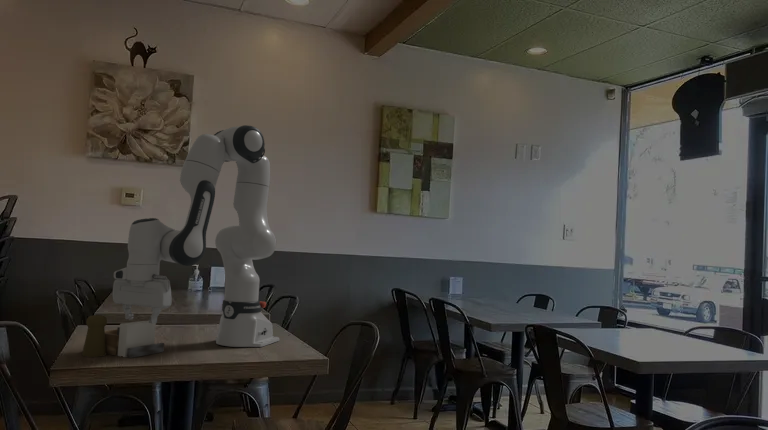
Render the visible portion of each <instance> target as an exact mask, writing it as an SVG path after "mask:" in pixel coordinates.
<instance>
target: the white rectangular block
mask: <svg viewBox="0 0 768 430" xmlns="http://www.w3.org/2000/svg"><path fill="white" fill-rule="evenodd" d="M156 325H157V323H154V324H152V323H149V319H148V320H142V321H141V320H140V321H139V320H138V321H132V322H131V321H130V322H124V323H123V322H122V323H120V324H119V327H120V331H119V344H118V355H117V357H121V356H123V358H127V350H128V348H133V347H139V346H145V345H151V344H155V337H156Z"/></svg>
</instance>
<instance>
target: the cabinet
mask: <svg viewBox="0 0 768 430" xmlns="http://www.w3.org/2000/svg"><path fill="white" fill-rule="evenodd" d="M119 331H120V326H119V327H118V326H117V328H116V329H110V330H109V329H108V330H105V346H106V355H113V356H118V344H119ZM164 349H165V343H163V342H158V343H154V344H151V345H145V346H139V347H133V348H128V350H127V357H126V358H128V359H132V358H138V357H143V356H147V355H153V354H158V353H159V354H160V353H164Z"/></svg>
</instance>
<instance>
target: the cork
mask: <svg viewBox="0 0 768 430" xmlns="http://www.w3.org/2000/svg"><path fill="white" fill-rule="evenodd" d="M85 323H86V326H87V331H86V335H85V340H84V344H83V350H82V354H81V355H82V357H85V356H88V357H87V358H98V357H103V356H106V355H107V354H106V346H105V331H106V329H105V327H106V326H107V323H108V319H107V317H106V316H105V315H101V314H94V315H90V316H88V317H87V318H86V322H85Z"/></svg>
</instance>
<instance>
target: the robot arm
mask: <svg viewBox="0 0 768 430" xmlns="http://www.w3.org/2000/svg"><path fill="white" fill-rule="evenodd" d="M265 145H266V143H265V138H264V135H263V133H262V131H261V130H260V129H259V128H257V127H255V126H253V125H248V124H247V125H239V126H238V125H237V126H232V127H229V128H226V129H222V130H219V131H217V132H215V134H214V133H213V134H211V133H205V134H201V135H199V136H197V138H196V139H195V141H194V142H193V143H192V146H191V147H190V149H189V151H188V153H187V155H186V158H185V160H184V163H183V165H182V168H181V171H180V178H179V181H180V185H181V186H182V188H183V189H184V190H185V192H187V193H188V195H189V196H190V205H189V208H188V213H187V216H186V221H185V224H184V226H183V228H182V229H181V230H176V229H175V228H172V227H170V226H167V225H166V224H165V223H163V222H161V220H159V219H158V218H156V217H149V218H142V219H137V220H134V221H133V222H132V223H131V225H130V227H129V232H128V240H127V250H128V257H127V258H128V259H127V262H126V266H125V267H124V268H121V269H117V270H115V271H114V272H113V278H114V281H113V285H112V301H113V302H114V304H117V305H122V310H123V313H124V314H125V315H124V319H125V321H134V319H135V317H134V315H135V313H132V312H133V311H132V309H131V308H133V306H137V307H144V308H151V312H152V314H151V315H150V316H149V317H148V320H149V323H152V324H154V323H156V324H157V323H158V317H159V315H160V313H161V312H162V311H161V310H162V309H168V308H170V307H171V305H172V300H173V299H172V289H171V281H170V279H169V278H168V277H167V276H166V275H160V264H161V263H160V262H161V261H165V262H169V263H175V264H178V265H182V266H186V267H187V266H188V267H189V266H190V267H191V266H194V265H196V264H199V262H200V261H201V260H202V259H203V258H204V256H205V253H206V250H207V231H208V226H209V223H210V218H211V215H212V211H213V208H214V203H215V197H216V186H217V183H218V179H219V176H220V173H221V171H222V167H223V164H225V162H226V163H227V162H228V163H229V162H235V163H236V166H237V167H236V168H237V176H236V182H235V190H234V197H233V202H232V203H233V208H234V210H235V211H236V213H237V217H238V223H239V225H231V226H227V227H224V228H222V229H221V230H219V231H218V232H217V234H216V236H215V240H214V241H215V243H214V244H215V247H216V249H217V251H218V252H219V254H220V257H221V260H222V263H223V269H224V278H225V279H224V280H225V282H224V298H223V300H222V304H221V306H222V307H221V308H222V309H221V310H222V314H221V316H220V318H219V319H220V320H219V324H218V325H219V326H218V331H217V336H216V337H215V339H214V340H215V343H216V344H217V345H220V346H223V347H224V346H225V347H231V348H232V347H234V348H247V347H248V348H250V347H251V348H253V347H254V348H256V347H257V348H262V347H265V346H268V345H270V344H273V343H277V342H279V341H280V337H278V336H274V333H273V332H274V330H273V327H274V326H273V323H272V322H271V321H270V320H269V319H268V318H267V317H266V316H265V315H264V314H263V313H262V308H263V309H264V308H266V307H267V302H266V301H260V300H259V298H260V297H259V294H260V282H261V281H260V279H261V278H260V275H258V273H257V272H256V269H255V267H254V262H253V260H255V261H256V260H257V261H258V260H262V259H266V258H269V257H270V256H272V255H273V254H274V253H275V250H276V248H277V239H276V238H277V237H276V236H275V233H274V232H273V230H272V229H271V226H270V224H269V218H268V202H269V192H270V183H271V163H270V160H269V158H268V157H267V156H265V152H266V148H265Z"/></svg>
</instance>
